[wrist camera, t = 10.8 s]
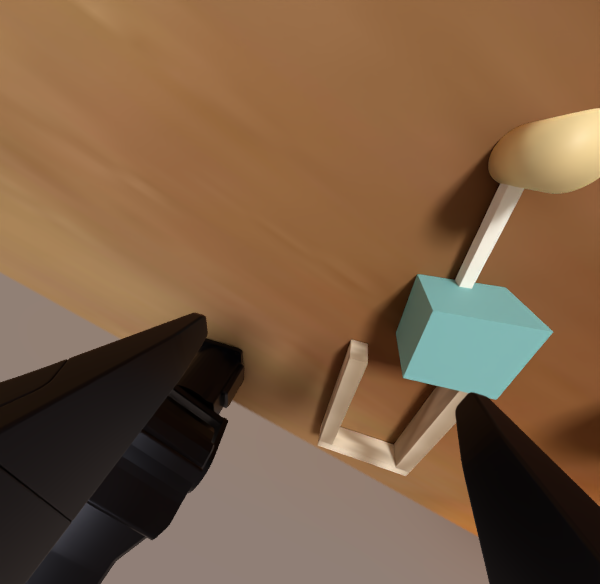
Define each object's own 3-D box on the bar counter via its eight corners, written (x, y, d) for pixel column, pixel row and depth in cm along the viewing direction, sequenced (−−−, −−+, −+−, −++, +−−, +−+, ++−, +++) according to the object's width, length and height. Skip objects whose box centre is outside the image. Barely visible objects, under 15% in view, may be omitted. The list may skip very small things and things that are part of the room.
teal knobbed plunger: (395, 333, 21) (402, 377, 16) (473, 119, 12) (527, 101, 8) (468, 347, 19) (496, 399, 15) (605, 124, 11) (743, 105, 7)
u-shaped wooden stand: (321, 425, 31) (317, 445, 28) (351, 339, 22) (349, 358, 20) (403, 453, 29) (405, 476, 27) (469, 371, 21) (481, 396, 18)
